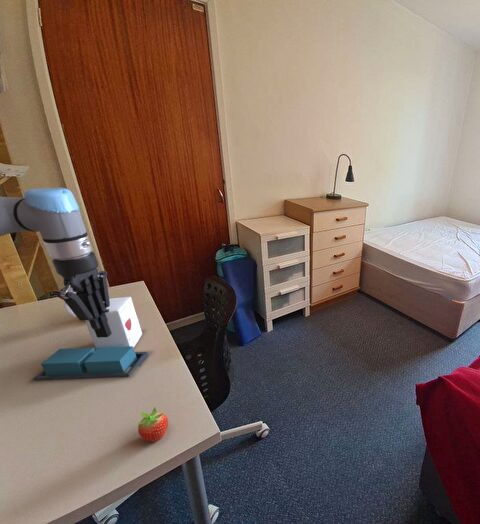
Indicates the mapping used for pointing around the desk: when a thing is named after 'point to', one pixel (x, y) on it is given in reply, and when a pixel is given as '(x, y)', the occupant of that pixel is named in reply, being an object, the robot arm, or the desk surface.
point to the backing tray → (140, 359)
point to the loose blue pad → (111, 360)
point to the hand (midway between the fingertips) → (104, 335)
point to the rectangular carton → (119, 325)
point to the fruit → (153, 426)
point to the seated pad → (67, 361)
